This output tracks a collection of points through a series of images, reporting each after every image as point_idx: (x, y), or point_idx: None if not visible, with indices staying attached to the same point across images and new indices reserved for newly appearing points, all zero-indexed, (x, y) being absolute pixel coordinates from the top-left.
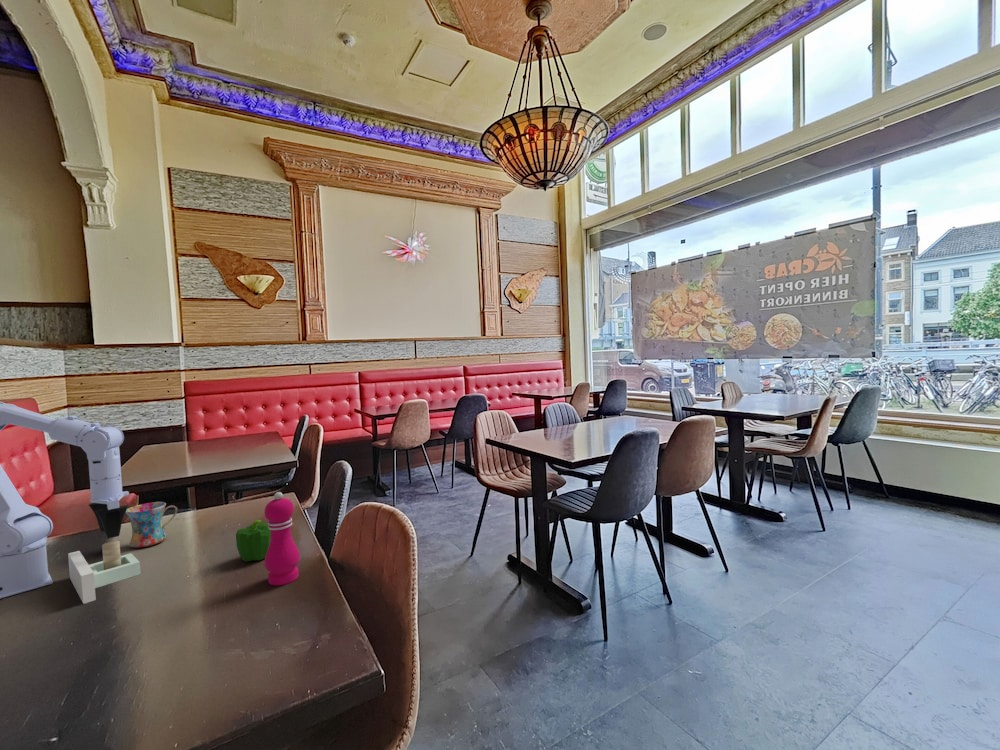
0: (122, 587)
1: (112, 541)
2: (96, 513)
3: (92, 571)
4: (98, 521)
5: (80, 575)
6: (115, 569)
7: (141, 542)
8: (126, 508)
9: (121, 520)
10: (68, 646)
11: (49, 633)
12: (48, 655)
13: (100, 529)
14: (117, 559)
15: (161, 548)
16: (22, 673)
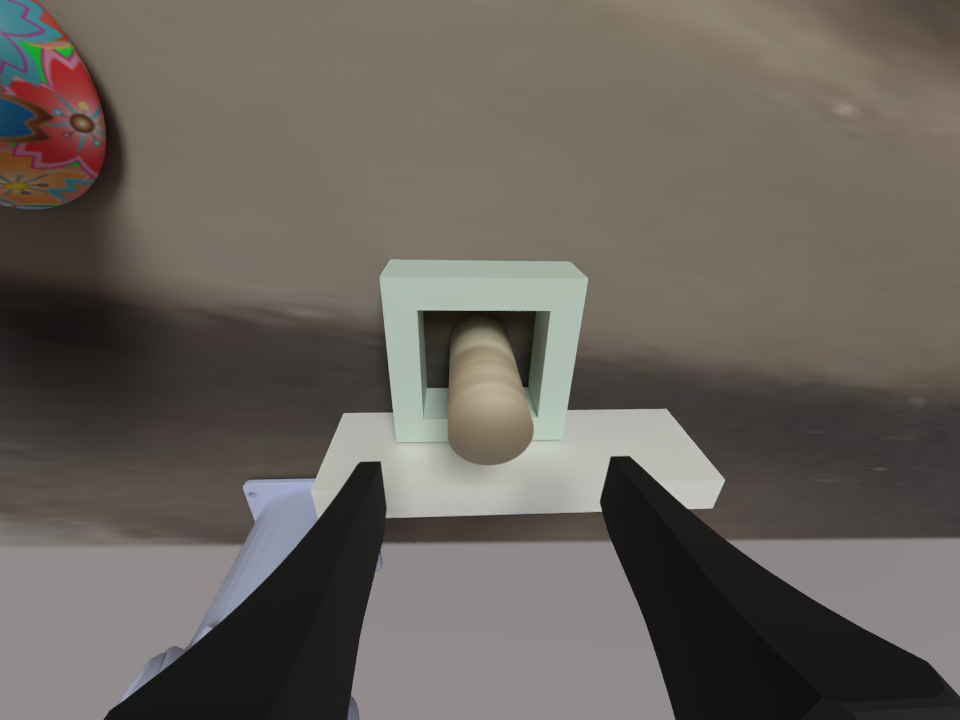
0: (645, 338)
1: (452, 421)
2: (347, 700)
3: (706, 481)
4: (367, 600)
5: (689, 506)
6: (571, 367)
7: (73, 154)
8: (945, 682)
9: (739, 552)
10: (885, 474)
11: (762, 494)
12: (875, 499)
13: (382, 528)
14: (514, 363)
15: (197, 57)
16: (891, 526)
